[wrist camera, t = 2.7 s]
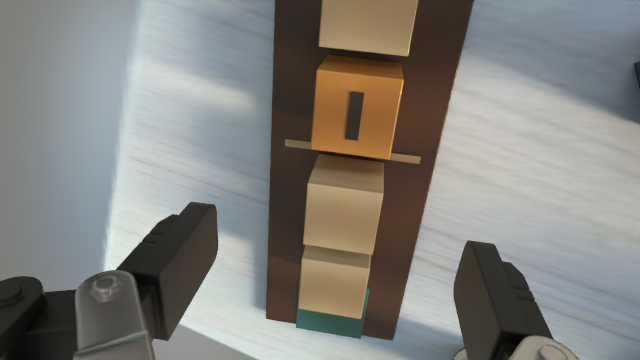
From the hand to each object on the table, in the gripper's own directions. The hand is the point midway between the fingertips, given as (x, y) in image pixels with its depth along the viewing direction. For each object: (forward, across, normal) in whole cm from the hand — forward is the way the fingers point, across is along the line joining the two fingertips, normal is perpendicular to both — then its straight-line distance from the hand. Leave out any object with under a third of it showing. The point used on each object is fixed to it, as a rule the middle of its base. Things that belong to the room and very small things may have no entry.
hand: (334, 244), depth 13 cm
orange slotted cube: (+14, 0, -1) cm, 14 cm away
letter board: (+15, 0, +2) cm, 15 cm away
